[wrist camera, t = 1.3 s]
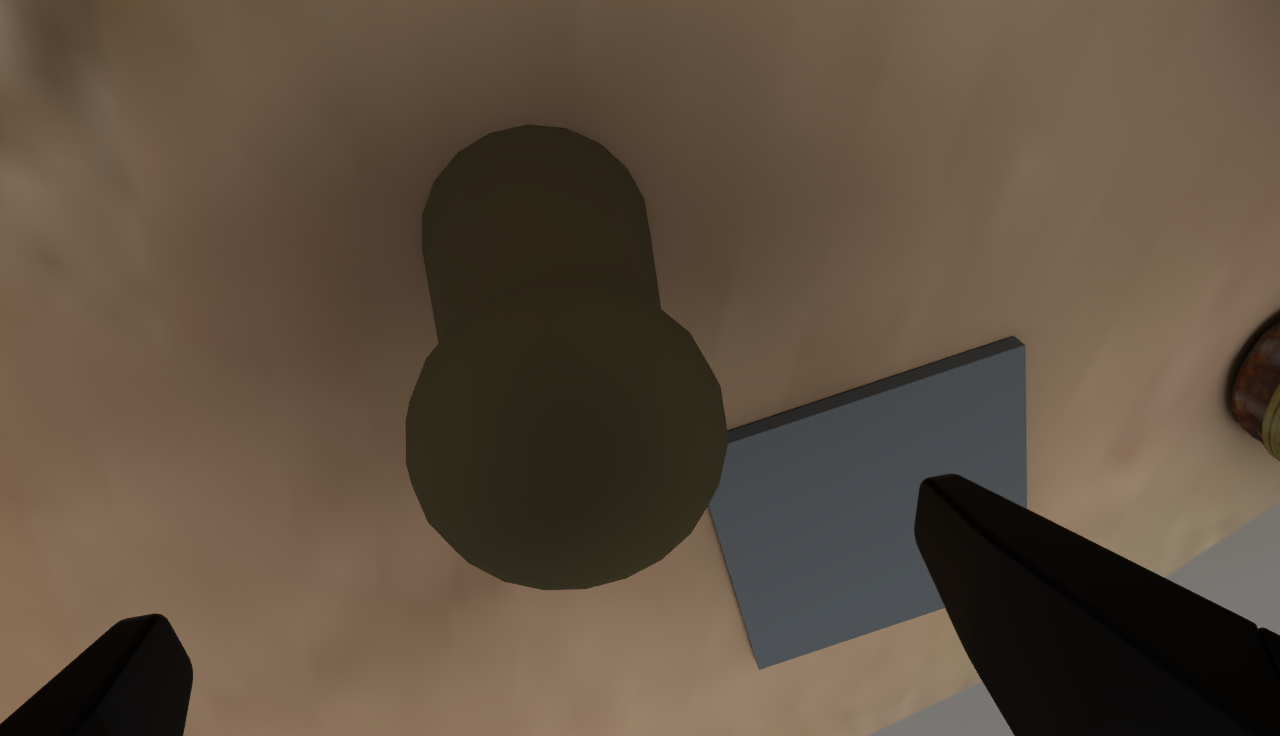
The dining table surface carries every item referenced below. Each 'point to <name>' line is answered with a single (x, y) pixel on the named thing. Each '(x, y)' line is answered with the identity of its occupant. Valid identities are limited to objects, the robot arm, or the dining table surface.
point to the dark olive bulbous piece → (555, 371)
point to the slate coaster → (860, 497)
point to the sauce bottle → (1260, 392)
